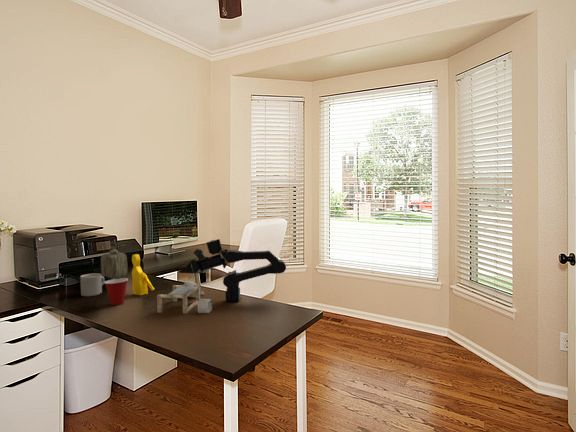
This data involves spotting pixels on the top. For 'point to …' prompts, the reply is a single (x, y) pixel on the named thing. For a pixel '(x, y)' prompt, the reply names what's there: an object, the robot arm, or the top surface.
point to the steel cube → (204, 305)
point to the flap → (181, 290)
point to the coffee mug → (91, 284)
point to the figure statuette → (139, 278)
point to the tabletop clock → (114, 264)
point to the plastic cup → (116, 290)
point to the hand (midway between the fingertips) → (181, 271)
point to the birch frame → (185, 301)
